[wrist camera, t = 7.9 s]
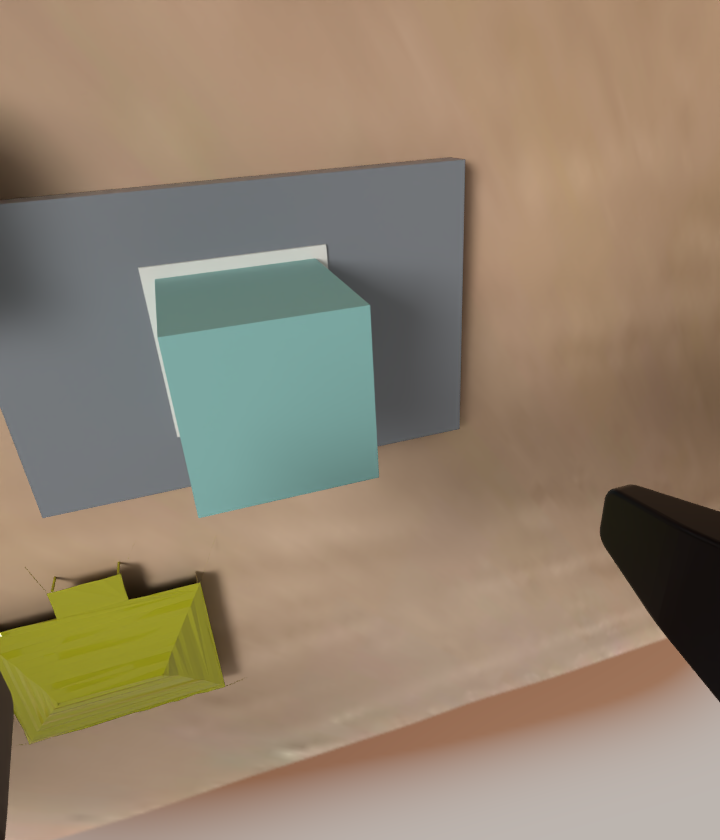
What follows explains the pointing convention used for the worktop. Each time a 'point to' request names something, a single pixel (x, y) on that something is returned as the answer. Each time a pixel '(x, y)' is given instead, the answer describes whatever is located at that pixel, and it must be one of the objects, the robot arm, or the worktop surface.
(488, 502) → the worktop surface
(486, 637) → the worktop surface
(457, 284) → the slate plate
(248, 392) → the teal block
